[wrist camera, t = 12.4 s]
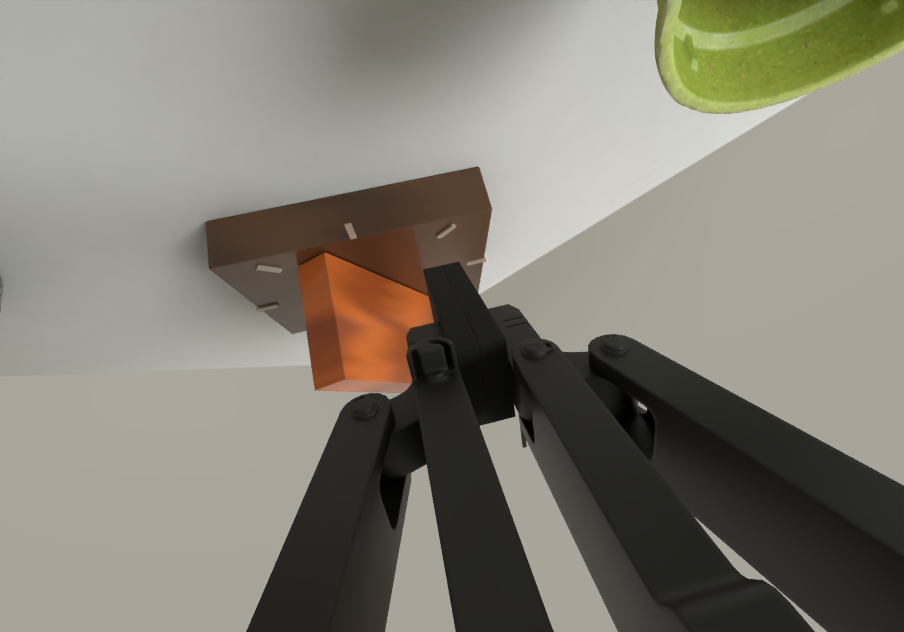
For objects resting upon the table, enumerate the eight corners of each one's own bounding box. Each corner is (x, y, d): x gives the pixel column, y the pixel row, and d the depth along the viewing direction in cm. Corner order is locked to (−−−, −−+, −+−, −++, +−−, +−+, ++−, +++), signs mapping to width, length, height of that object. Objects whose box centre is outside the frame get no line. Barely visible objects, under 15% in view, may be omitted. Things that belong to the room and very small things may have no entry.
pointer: (296, 266, 25) (315, 395, 23) (324, 251, 24) (346, 383, 22) (407, 305, 36) (427, 396, 33) (429, 296, 35) (452, 389, 33)
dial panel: (293, 307, 38) (297, 341, 37) (186, 206, 23) (189, 258, 22) (470, 268, 39) (478, 300, 38) (482, 147, 24) (497, 194, 23)
